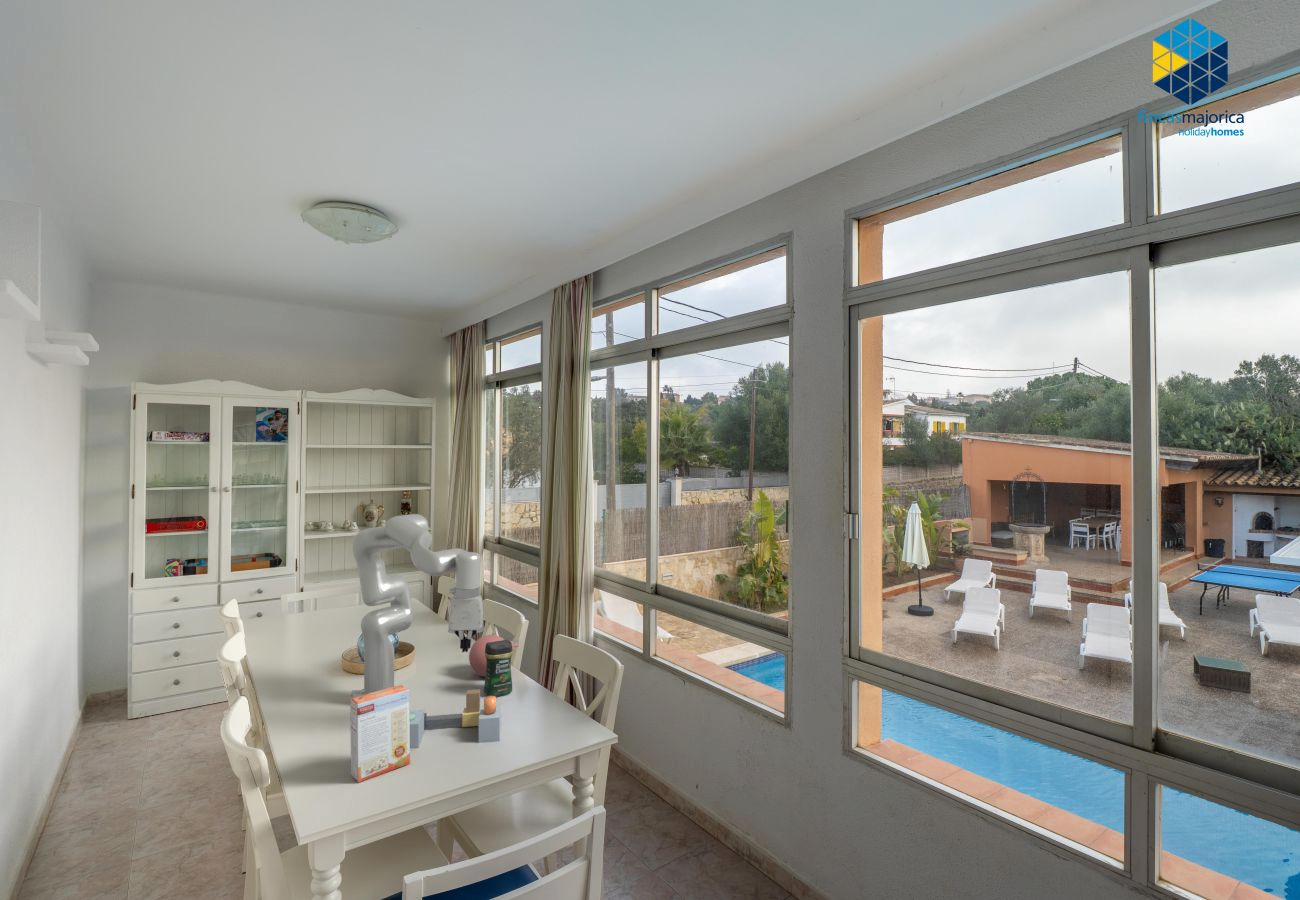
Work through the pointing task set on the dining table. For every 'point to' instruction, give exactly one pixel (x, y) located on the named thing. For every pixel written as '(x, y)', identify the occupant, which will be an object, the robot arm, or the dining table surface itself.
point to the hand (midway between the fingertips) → (465, 650)
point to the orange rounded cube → (489, 704)
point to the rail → (442, 721)
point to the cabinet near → (416, 727)
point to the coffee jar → (498, 668)
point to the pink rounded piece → (483, 653)
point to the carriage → (471, 709)
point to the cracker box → (379, 732)
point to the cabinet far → (490, 725)
